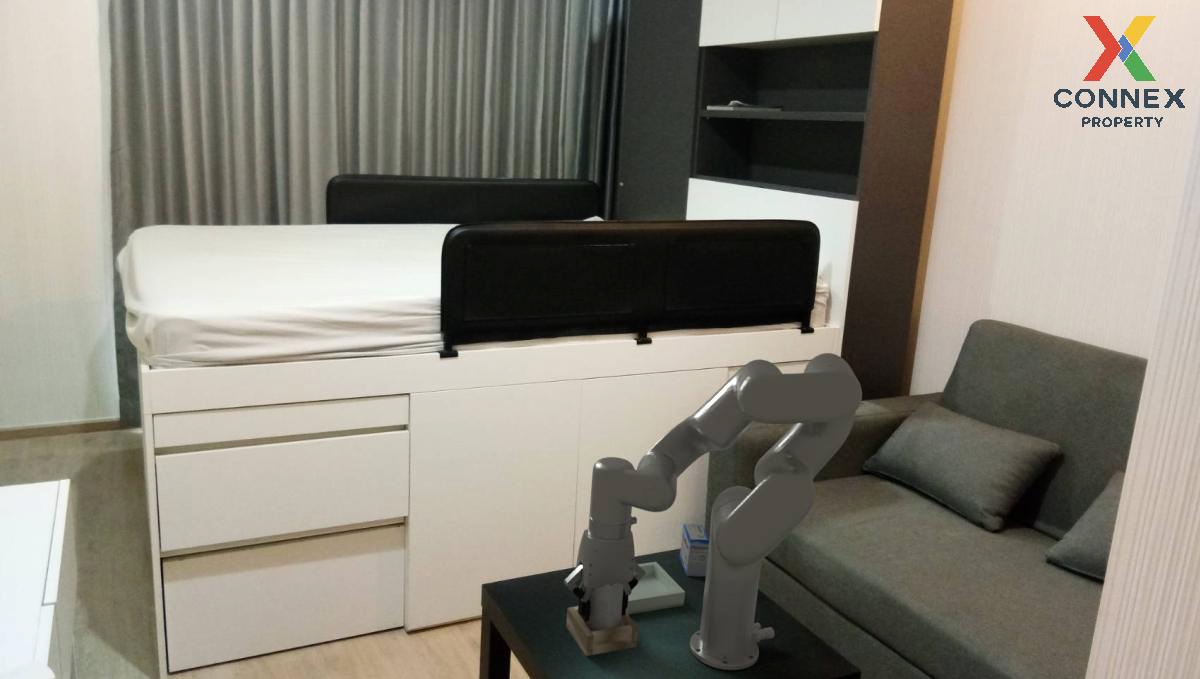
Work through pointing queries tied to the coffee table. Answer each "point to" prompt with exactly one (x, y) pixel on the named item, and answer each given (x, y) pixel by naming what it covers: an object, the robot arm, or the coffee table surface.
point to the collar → (601, 634)
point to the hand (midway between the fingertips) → (602, 613)
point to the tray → (654, 591)
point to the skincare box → (605, 607)
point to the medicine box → (694, 550)
